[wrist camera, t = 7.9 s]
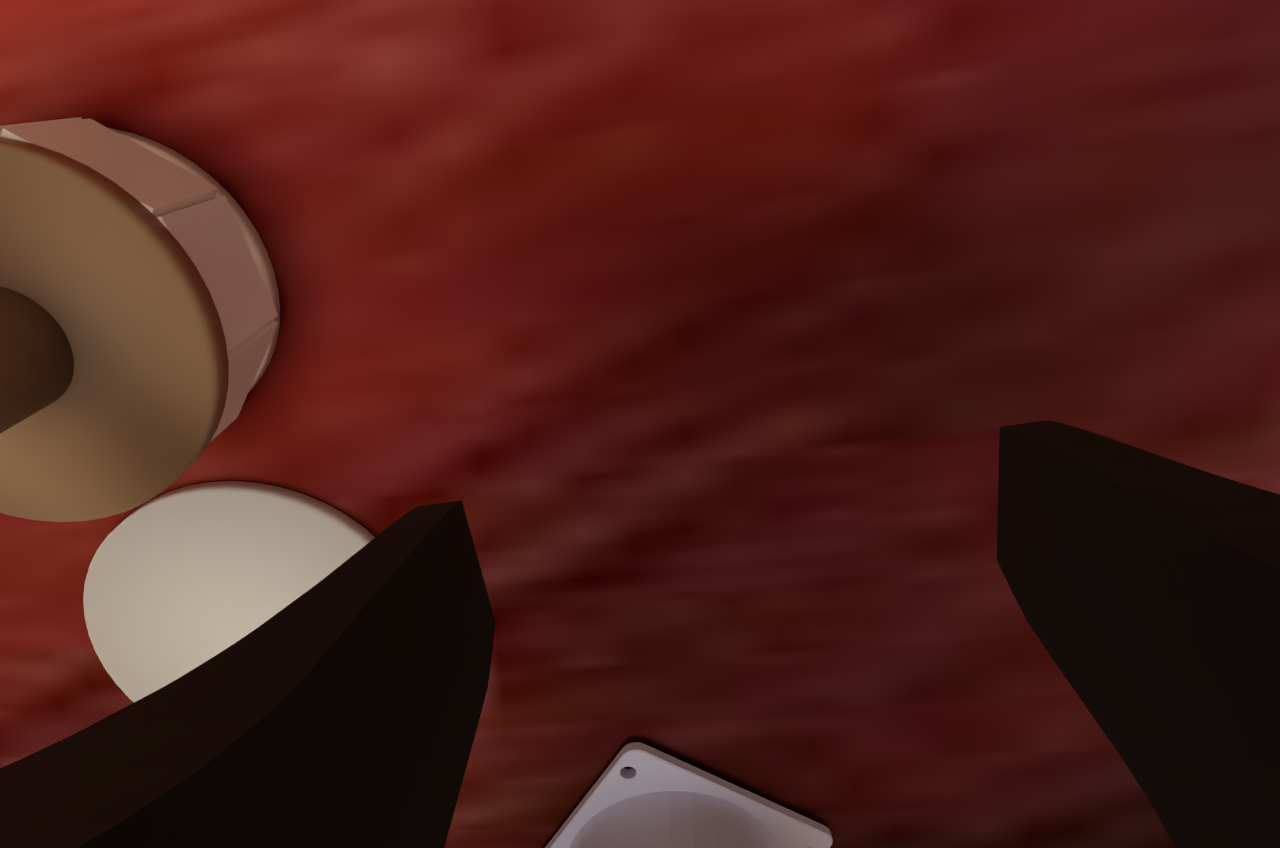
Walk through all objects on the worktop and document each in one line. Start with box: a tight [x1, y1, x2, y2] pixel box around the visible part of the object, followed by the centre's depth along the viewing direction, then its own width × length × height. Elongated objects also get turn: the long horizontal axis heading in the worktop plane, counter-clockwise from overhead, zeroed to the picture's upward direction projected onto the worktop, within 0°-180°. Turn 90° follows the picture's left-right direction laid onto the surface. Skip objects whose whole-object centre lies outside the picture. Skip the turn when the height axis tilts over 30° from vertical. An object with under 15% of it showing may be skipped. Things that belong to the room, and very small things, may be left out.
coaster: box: [83, 481, 375, 702], centre depth 24 cm, size 10×10×1 cm
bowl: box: [0, 117, 280, 442], centre depth 19 cm, size 8×8×4 cm
